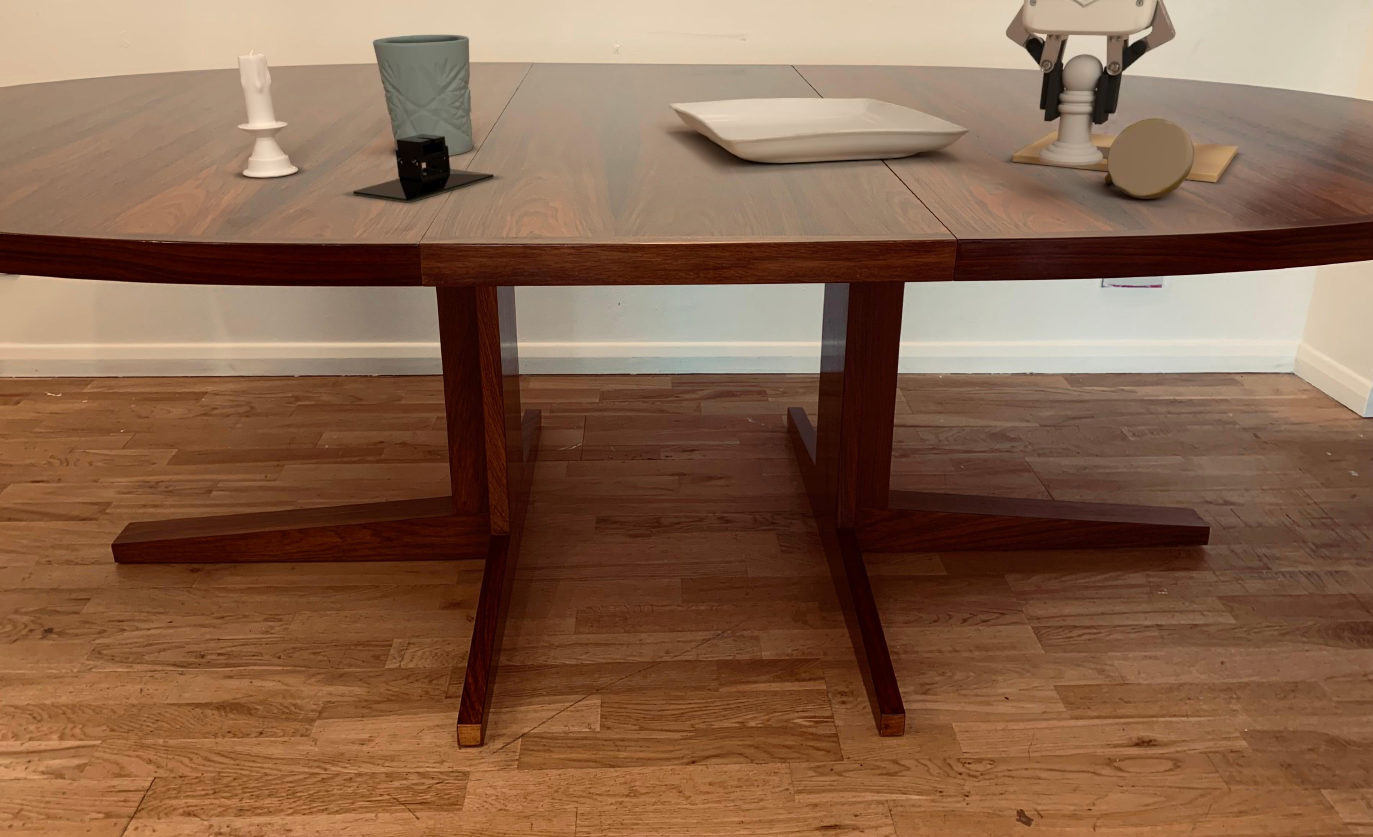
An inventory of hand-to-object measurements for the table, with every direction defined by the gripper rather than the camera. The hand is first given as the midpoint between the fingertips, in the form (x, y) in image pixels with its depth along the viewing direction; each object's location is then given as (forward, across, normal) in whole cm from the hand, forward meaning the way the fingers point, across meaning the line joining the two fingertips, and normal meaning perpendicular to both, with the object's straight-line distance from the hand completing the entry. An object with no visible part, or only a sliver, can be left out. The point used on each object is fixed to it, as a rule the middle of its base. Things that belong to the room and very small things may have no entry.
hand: (1076, 118), depth 87 cm
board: (+8, 0, +27) cm, 28 cm away
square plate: (+7, -33, +15) cm, 37 cm away
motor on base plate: (+6, -55, -24) cm, 60 cm away
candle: (+6, -73, -28) cm, 78 cm away
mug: (+8, +5, +10) cm, 13 cm away
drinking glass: (+6, -68, -10) cm, 69 cm away
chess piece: (+4, 0, 0) cm, 4 cm away
